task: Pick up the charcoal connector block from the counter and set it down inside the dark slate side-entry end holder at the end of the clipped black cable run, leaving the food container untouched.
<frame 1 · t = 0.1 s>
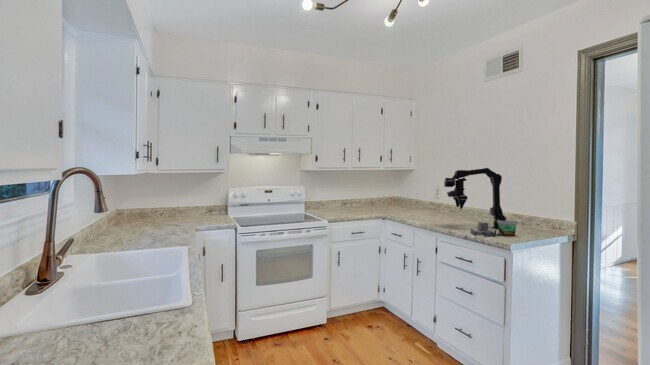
hand: (459, 208, 232), 15 cm above the worktop, fingers open, 9 cm apart
connector: (483, 230, 220), on the worktop
holder: (481, 233, 210), on the worktop
food container: (508, 236, 204), on the worktop
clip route: (499, 228, 229), resting in holder
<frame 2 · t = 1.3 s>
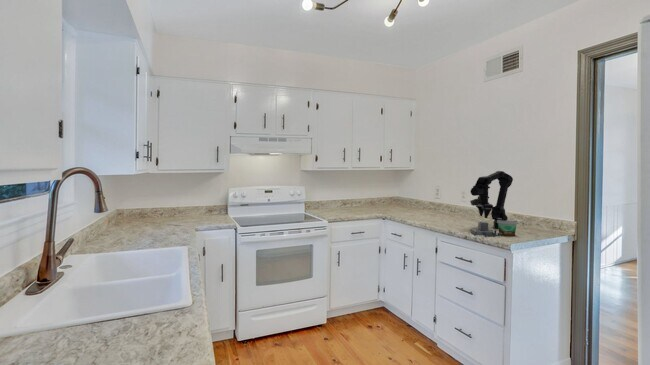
hand: (483, 217, 220), 10 cm above the worktop, fingers open, 9 cm apart
nothing on the worktop moved.
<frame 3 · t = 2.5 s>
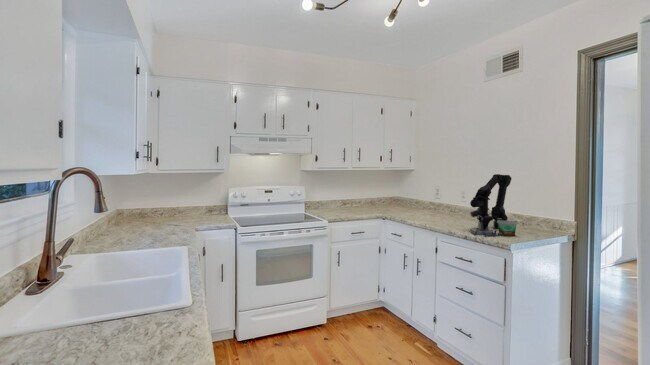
hand: (483, 228, 220), 2 cm above the worktop, fingers closed on connector, 5 cm apart
connector: (483, 230, 220), on the worktop, touching gripper
everything else where it was.
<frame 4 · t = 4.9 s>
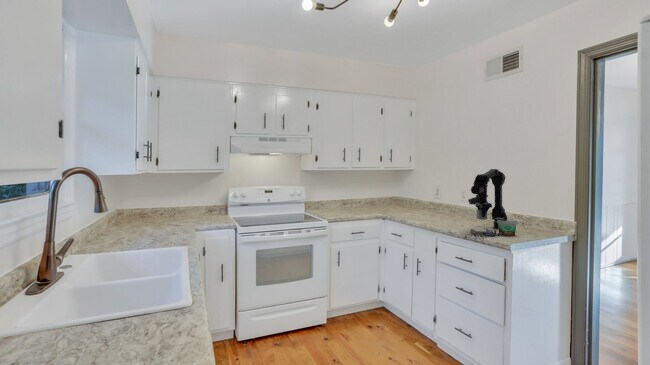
hand: (481, 216, 210), 12 cm above the worktop, fingers closed on connector, 5 cm apart
connector: (481, 218, 210), point 10 cm above the worktop, touching gripper
everything else where it was.
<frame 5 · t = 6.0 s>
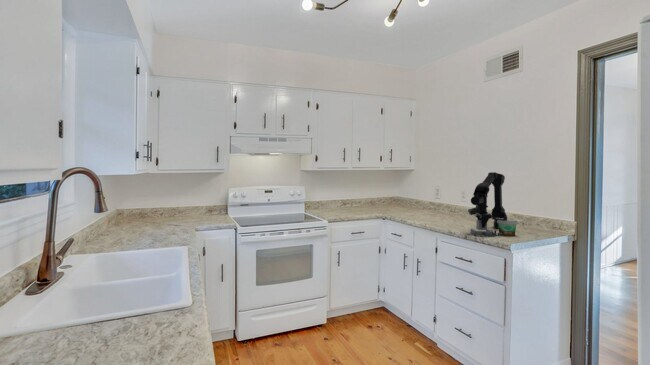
hand: (481, 227, 210), 5 cm above the worktop, fingers closed on connector, 5 cm apart
connector: (481, 229, 210), point 3 cm above the worktop, touching gripper
everything else where it was.
when the fingers open (3 cm above the worktop, at t = 7.1 s): connector drops 2 cm, on the worktop.
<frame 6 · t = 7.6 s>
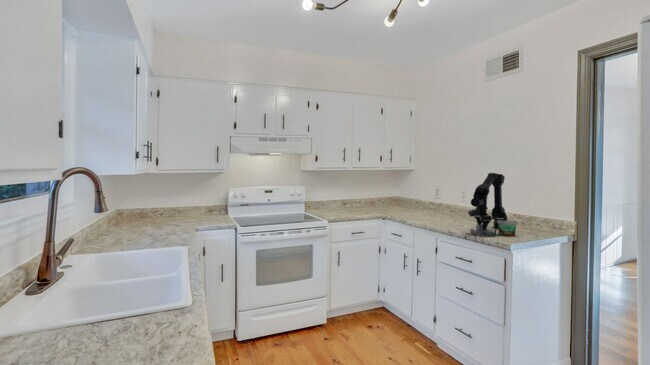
hand: (481, 228, 210), 3 cm above the worktop, fingers open, 9 cm apart
connector: (481, 233, 211), on the worktop
everything else where it was.
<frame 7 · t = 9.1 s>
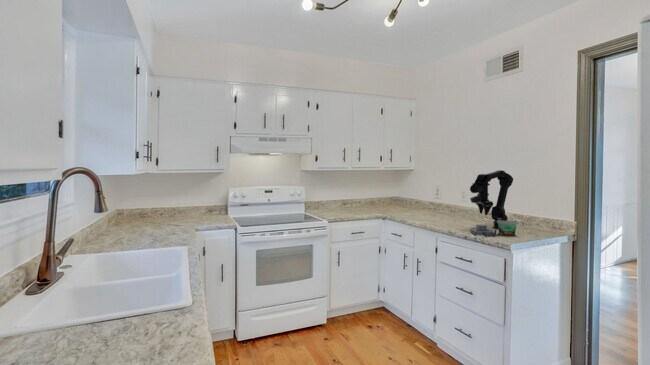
hand: (483, 214, 220), 12 cm above the worktop, fingers open, 9 cm apart
nothing on the worktop moved.
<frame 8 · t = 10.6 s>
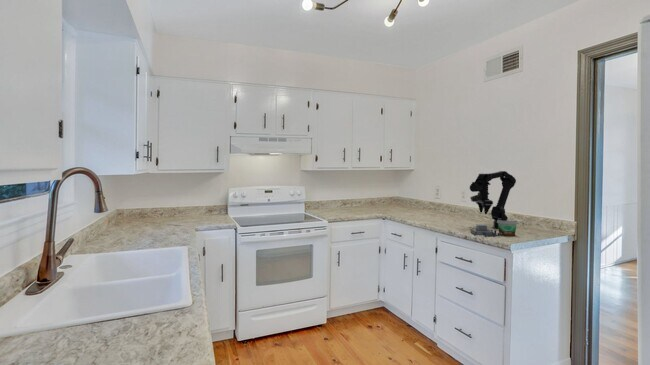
hand: (483, 213, 222), 12 cm above the worktop, fingers open, 9 cm apart
nothing on the worktop moved.
at the end: connector inside the target area (0.1 cm from its centre), on the worktop; connector tilted 0°; the gripper is holding nothing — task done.
